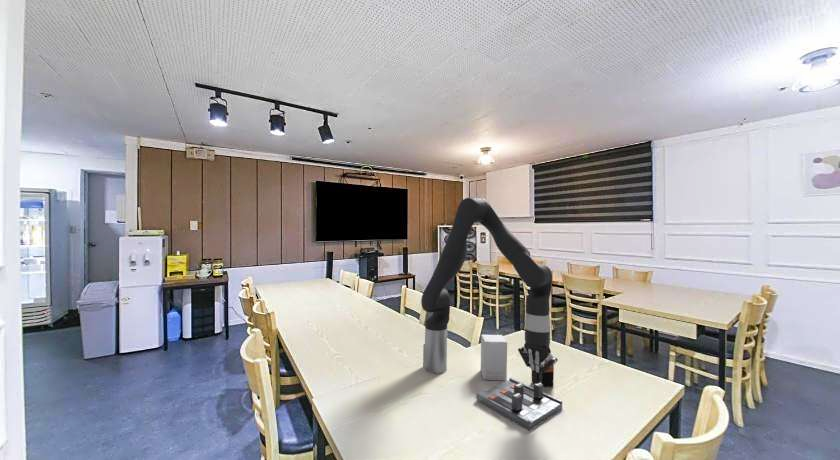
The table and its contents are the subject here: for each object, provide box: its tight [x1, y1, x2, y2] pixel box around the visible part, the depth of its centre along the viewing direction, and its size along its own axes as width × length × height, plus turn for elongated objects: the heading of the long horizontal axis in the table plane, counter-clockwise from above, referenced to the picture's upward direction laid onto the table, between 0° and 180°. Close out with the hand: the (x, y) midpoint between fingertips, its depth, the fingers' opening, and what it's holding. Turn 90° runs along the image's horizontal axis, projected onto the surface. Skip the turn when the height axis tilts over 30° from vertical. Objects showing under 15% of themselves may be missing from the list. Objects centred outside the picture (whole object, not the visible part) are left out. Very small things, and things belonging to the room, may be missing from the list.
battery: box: [531, 357, 555, 388], centre depth 120 cm, size 4×7×10 cm, turn 94°
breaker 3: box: [533, 383, 544, 399], centre depth 106 cm, size 2×2×4 cm
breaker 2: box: [512, 393, 522, 411], centre depth 99 cm, size 2×2×4 cm
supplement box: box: [480, 334, 508, 381], centre depth 127 cm, size 9×9×15 cm
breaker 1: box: [514, 382, 524, 398], centre depth 105 cm, size 2×2×4 cm
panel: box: [476, 377, 563, 432], centre depth 105 cm, size 20×19×3 cm
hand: (536, 382), depth 100 cm, fingers closed
